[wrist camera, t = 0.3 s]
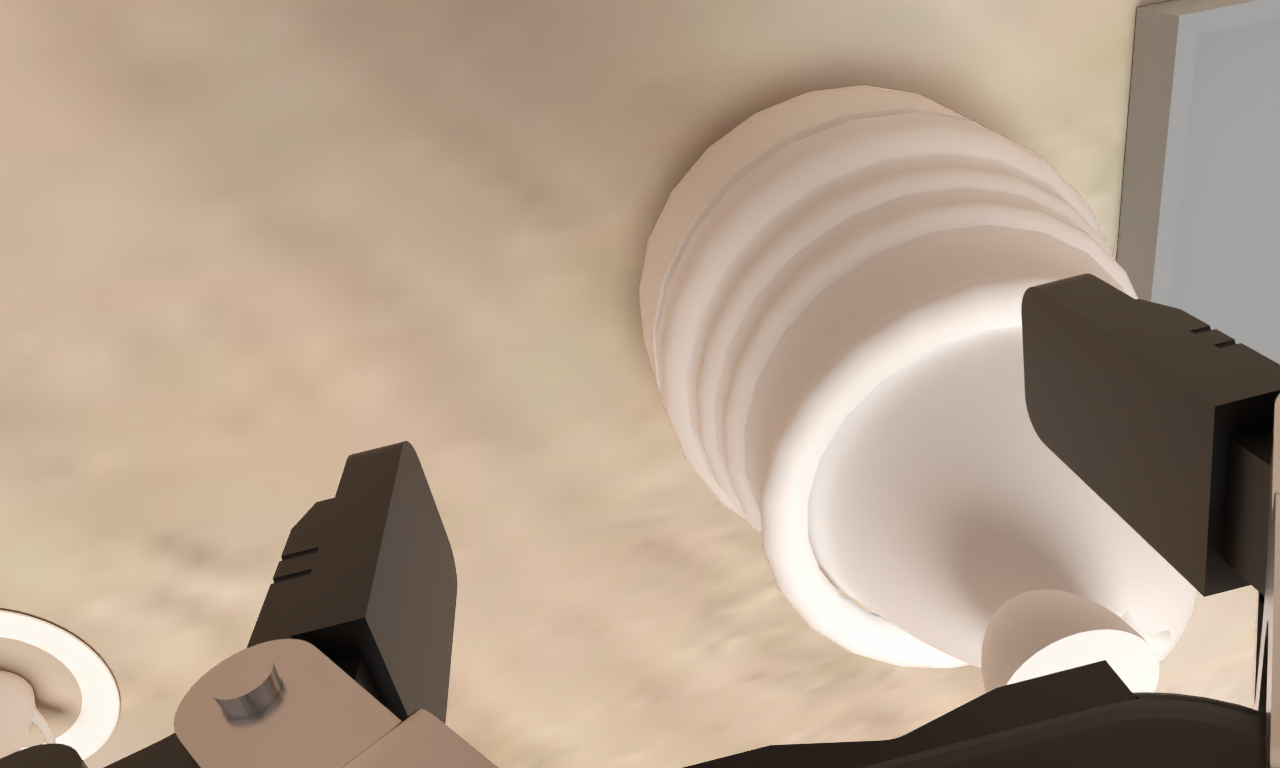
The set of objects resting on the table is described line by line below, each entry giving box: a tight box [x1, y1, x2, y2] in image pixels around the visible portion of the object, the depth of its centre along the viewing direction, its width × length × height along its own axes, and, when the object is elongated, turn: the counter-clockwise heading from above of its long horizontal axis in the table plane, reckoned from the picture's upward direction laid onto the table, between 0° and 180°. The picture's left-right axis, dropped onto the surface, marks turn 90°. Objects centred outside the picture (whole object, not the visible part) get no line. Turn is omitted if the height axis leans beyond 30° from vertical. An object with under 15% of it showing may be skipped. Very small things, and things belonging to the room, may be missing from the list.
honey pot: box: [639, 85, 1197, 693], centre depth 23 cm, size 13×13×18 cm
